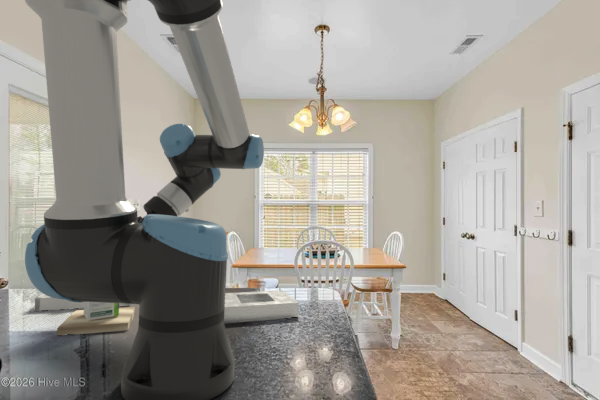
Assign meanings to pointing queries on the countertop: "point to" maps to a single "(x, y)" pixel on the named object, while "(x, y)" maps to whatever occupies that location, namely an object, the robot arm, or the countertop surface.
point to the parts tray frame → (58, 303)
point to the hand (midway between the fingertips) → (90, 275)
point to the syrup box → (100, 310)
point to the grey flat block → (259, 306)
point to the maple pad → (96, 323)
